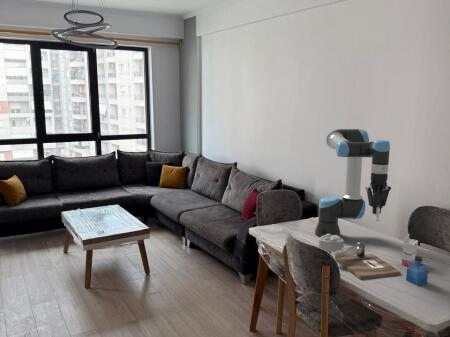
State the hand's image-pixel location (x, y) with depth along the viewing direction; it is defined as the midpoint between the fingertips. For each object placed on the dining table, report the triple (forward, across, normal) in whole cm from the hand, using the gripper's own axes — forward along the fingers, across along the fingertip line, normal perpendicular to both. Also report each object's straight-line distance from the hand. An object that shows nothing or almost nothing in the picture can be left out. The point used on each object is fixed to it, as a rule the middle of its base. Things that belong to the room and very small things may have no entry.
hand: (376, 220), depth 200 cm
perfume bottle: (+25, +10, -19) cm, 33 cm away
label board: (+24, -3, +1) cm, 25 cm away
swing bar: (+22, -8, +9) cm, 26 cm away
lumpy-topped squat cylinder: (+25, -10, +25) cm, 37 cm away
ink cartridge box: (+25, +21, 0) cm, 32 cm away
